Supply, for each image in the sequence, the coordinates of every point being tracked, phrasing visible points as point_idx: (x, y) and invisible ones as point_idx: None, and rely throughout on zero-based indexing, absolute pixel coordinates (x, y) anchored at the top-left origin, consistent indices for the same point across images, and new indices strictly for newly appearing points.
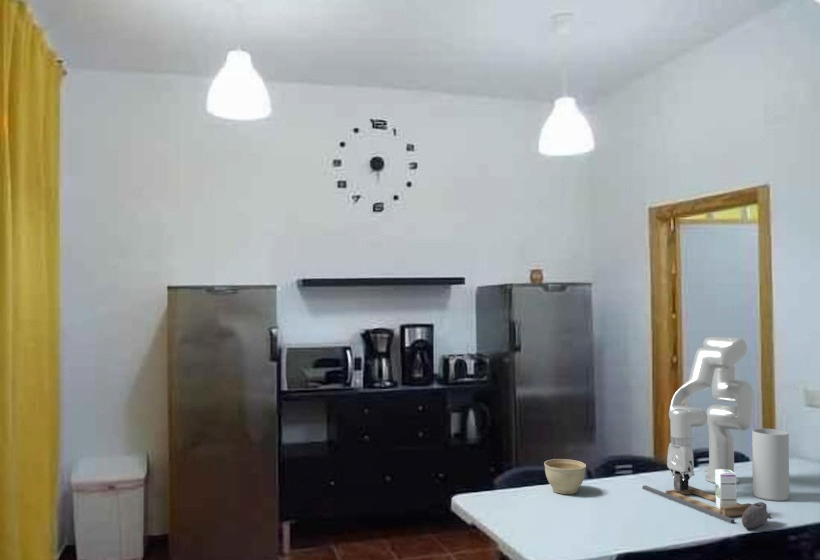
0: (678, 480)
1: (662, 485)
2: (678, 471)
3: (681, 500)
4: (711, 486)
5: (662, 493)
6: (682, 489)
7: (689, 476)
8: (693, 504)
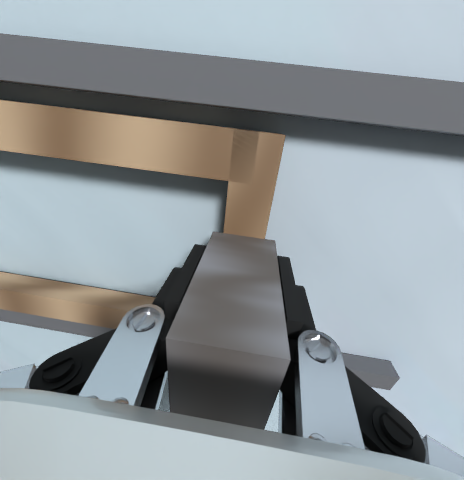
0: (207, 287)
1: (450, 312)
2: (135, 406)
3: (13, 43)
4: (266, 423)
5: (274, 62)
6: (194, 250)
7: (28, 366)
8: None
